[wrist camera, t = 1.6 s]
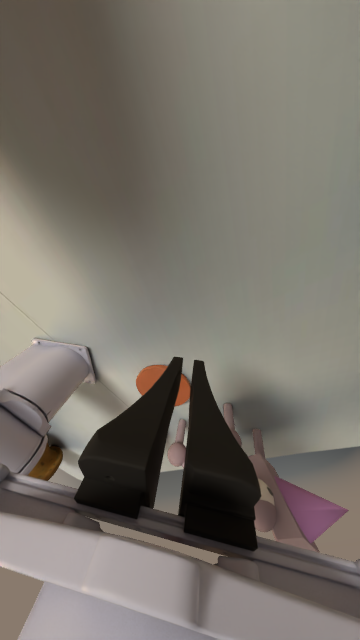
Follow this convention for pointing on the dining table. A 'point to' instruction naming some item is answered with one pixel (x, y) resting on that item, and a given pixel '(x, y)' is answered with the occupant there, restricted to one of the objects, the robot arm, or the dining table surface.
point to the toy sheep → (275, 496)
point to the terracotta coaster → (153, 374)
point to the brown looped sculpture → (47, 463)
